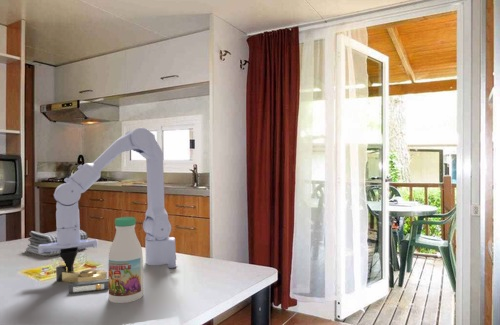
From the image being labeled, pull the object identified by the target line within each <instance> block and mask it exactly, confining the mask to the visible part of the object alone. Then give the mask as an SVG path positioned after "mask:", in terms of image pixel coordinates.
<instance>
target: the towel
mask: <svg viewBox="0 0 500 325" xmlns="http://www.w3.org/2000/svg"><path fill="white" fill-rule="evenodd" d="M28 235H29V236H31V237H29V238H28V242H29V243H28V244H27V247H26V248H25V252H27V253H32V254H36V255H40V256H44V257H51V256H57V255H60V252H61V250H59V251H49V252H43V253H39V252H38V246H39V245H40V244H49V243H55V242H57V230H55V231H48V232H46V233H42V232H39V231H34V230H31V231H29V233H28ZM88 238H89V236H88V234H87V232H86V231H84V230H83V229H80V240H88ZM84 249H85V248H80V249H79V250H78V251H81V250H84Z"/></svg>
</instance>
